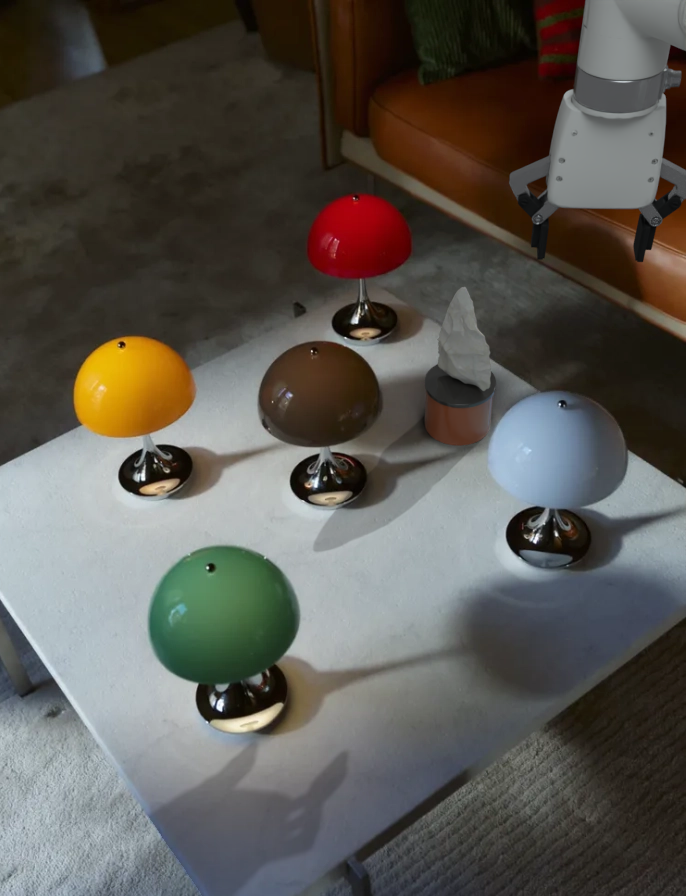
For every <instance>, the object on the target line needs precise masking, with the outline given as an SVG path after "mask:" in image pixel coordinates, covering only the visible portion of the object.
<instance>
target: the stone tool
mask: <svg viewBox="0 0 686 896" xmlns="http://www.w3.org/2000/svg"><path fill="white" fill-rule="evenodd" d="M477 320H478V319H477V317H476V314H475V307H474V301H473V300H472V297H471V295H470V293H469V290H468V289H467V287H466V286H462V287H460V288H459V289H458V290H457V291H456V292H455V294H454V296H453V298H452V300H451V301H450V302H449V305H448V307H447V311H446V313H445V317H444V319H443V322H442V324H441V327H440V331H439V333H438V338H437V341H438V342H437V344H438V345H437V346H438V348H437V349H438V351H437V353H438V355H439V356H438V359H437V364H438V366H439V367H440V368H441V369H442V370H443V371H444V372H446V373H447V374H449V375H450V376H451V377H453V378H456V379H459V380H460V381H462V382H463V383H465V384H473V385H476V386H477V387H479V388H480V389H481V390H482V391H485V390H486V389H489V388H490V377H491V371H492V363H491V359H490V355H491V351H490V345H489V344H488V343H487V341H486V336H485V335H484V333H482V332H481V330H480V329H479V328H478V321H477Z"/></svg>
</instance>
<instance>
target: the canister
mask: <svg viewBox="0 0 686 896" xmlns="http://www.w3.org/2000/svg"><path fill="white" fill-rule="evenodd" d="M424 389H425V397H424V398H425V401H424V428H425V431H426V432H427V433H428V435H429V436H430V437H431V438H432V439H434V440H436V441H438V442H439V443H442V444H445V445H449V446H456V447H458V446H470V445H472V444H475V443H478V442H480V441H482V440H483V439H484V438H485V437H487V435H488V434H489V432H490V429H491V424H492V416H493V413H492V412H493V407H494V406H493V405H494V395H495V393H496V391H497V390H496V389H497V379H496V376H495V374H494V373H493V371H492V370H491V377H490V388H489V389H486V390H485V391H482V390H481V389H480V388H479V387H477V386H476V385H473V384H465V383H463V382H462V381H460V380H459V379H456V378H453V377H451V376H450V375H449V374H447V373H446V372H444V371H443V370H442V369H441V368H440V367H439V366H438V363H437V364H435V365H434V366H432V367H431V368H430V369H429V370H428V371H427V372H426V374H425V377H424Z"/></svg>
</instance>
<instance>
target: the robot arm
mask: <svg viewBox="0 0 686 896" xmlns="http://www.w3.org/2000/svg"><path fill="white" fill-rule="evenodd" d="M671 46H673V47H675V48H678V49H680V50H682V51H685V52H686V0H585V1H584V8H583V16H582V24H581V29H580V38H579V44H578V50H577V51H578V53H577V59H576V60H577V61H576V65H575V74H574V81H573V88H572V89H569V90H567V91H566V92H565V93H564V94H563V96H562V99H561V102H560V105H559V109H558V111H557V116H556V119H555V123H554V127H553V133H552V137H551V140H550V141H551V142H550V147H549V154H548V155H547V156H545V157H543V158H541V159H539V160H536V161H534V162H532V163H530V164H528V165H525V166H522V167H521V168H518V169H516V170H513V171H512V172H510V174H509V176H508V184H509V186H510V189H511V190H512V193H513V195H514V197H515V199H516V200H517V205H518V206H519V207H520V208H521V209H522V210H523V211H524V212H525V213H526V214H527V215H528V216H529V217H530V218H531V222H532V229H531V236H530V237H531V238H530V248H534V249H535V248H536V259H537V260H539V261H540V260H541V261H542V260H544V259H545V258H546V253H547V244H548V236H549V230H550V229H549V227H550V220H549V219H550V218H549V217H551V216H552V215H553V214H554V213H555V212H556V211H557V210H559V209H560V208H563V209H588V210H589V209H591V210H592V209H593V210H595V209H597V210H637V209H638V211H639V212H640V213H639V215H638V220H637V224H636V229H635V235H634V240H633V244H632V248H633V255H634V260H635V261H636V262H637V263H643V262H644V260H645V255H646V251H652V248H653V245H654V239H655V237H656V236H655V235H656V230H657V227H660V225H661V224H662V223H663V220H664V219H666V218H667V217H668V216H670V215H671V214H672V213H674V212H675V211H677V210H678V209H679V208H681V206H682V203H683V202H684V200H686V169H684V168H682V167H681V166H679V165H677V164H675V163H673V162H672V161H670V160H668V159H666V158H664V157H663V155H664V147H665V139H666V125H667V98H666V97H667V96H666V95H665V94H664V93H666V90H670V89H671V88H679V87H680V85H681V82H682V70H674V69H672V68H669V65H668V59H669V54H670V49H671ZM542 178H545V184H546V186H547V187H546V189H545V190H544V191H543V192H542V193H540V195H539V196H536V195H535V194H534V193H533V192H532V191H531V190H530V189H529V187H528V185H529V184H531V183H533V182H535V181H537V180H539V179H542ZM660 178H661V179H663V180H665V181H667V182H669V183H671V184H673V185H674V186H673V187H672V189H671V190H669V191H668V192H666V193H665V194H663V195H662V196H661V197H660V198H658V199H656V196H657V192H658V186H659V183H660Z"/></svg>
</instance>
